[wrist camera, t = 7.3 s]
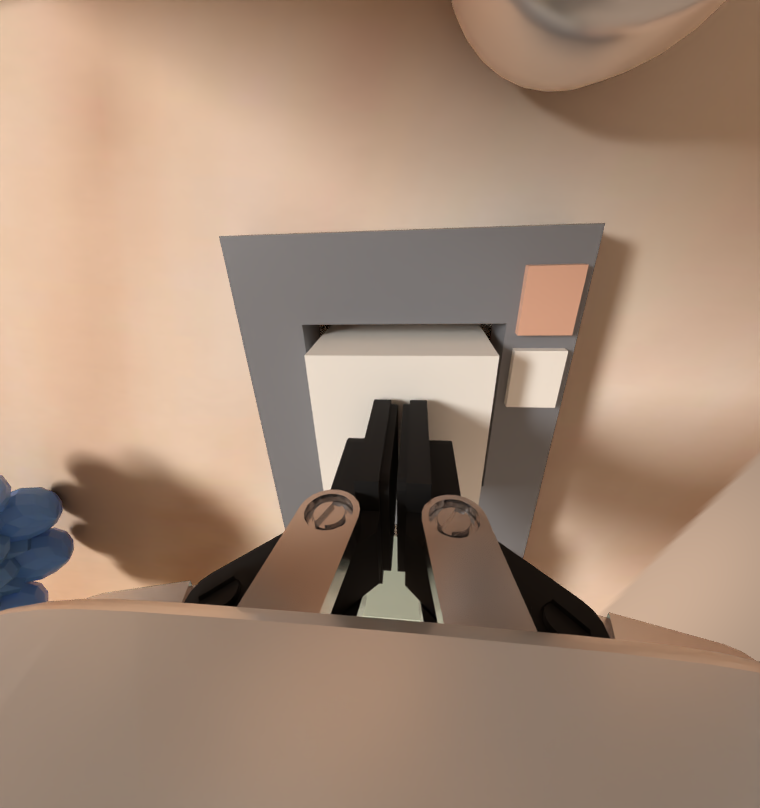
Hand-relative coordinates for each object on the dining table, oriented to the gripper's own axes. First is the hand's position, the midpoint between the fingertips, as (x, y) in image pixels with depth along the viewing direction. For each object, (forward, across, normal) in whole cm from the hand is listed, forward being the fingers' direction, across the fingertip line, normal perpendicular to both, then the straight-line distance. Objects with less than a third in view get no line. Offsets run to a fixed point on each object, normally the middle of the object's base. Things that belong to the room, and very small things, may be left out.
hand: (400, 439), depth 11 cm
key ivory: (+4, 0, 0) cm, 4 cm away
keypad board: (+4, 0, +9) cm, 10 cm away
